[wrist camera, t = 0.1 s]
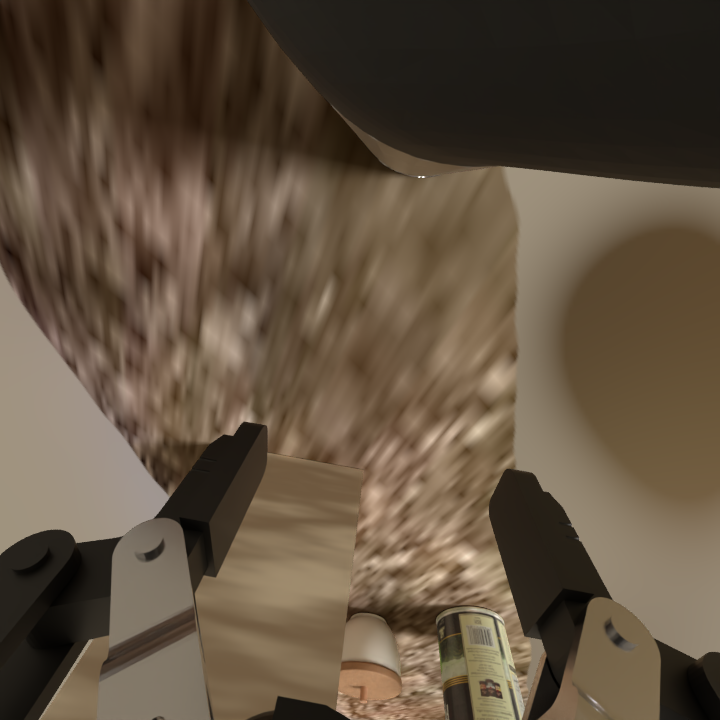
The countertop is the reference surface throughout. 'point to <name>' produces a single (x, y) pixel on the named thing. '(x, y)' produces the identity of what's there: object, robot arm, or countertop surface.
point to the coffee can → (477, 666)
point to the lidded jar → (370, 659)
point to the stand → (266, 599)
